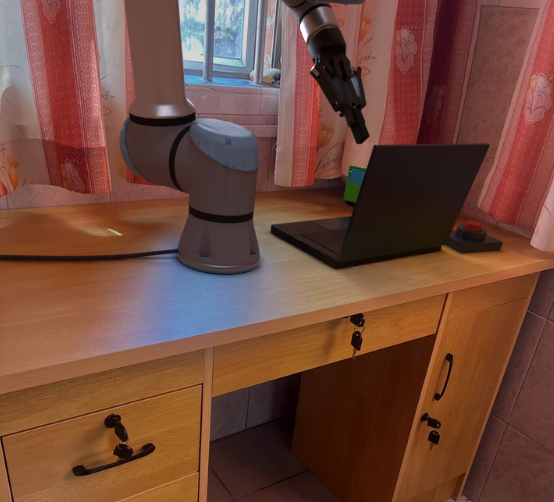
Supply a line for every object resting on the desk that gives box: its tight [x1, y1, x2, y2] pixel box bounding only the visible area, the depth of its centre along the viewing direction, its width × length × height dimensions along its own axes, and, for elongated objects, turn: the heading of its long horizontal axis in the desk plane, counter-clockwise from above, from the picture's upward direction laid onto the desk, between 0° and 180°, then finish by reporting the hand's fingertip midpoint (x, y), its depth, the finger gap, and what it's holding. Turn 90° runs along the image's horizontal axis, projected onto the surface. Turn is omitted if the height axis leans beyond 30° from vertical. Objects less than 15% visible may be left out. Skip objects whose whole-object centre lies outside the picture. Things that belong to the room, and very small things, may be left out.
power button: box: [464, 220, 483, 232], centre depth 127 cm, size 4×4×2 cm
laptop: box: [270, 215, 443, 270], centre depth 123 cm, size 22×31×2 cm
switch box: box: [445, 223, 504, 255], centre depth 129 cm, size 12×9×4 cm
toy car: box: [343, 164, 366, 204], centre depth 150 cm, size 10×13×10 cm
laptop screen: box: [337, 142, 491, 262], centre depth 108 cm, size 22×31×1 cm
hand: (363, 140), depth 115 cm, fingers closed
